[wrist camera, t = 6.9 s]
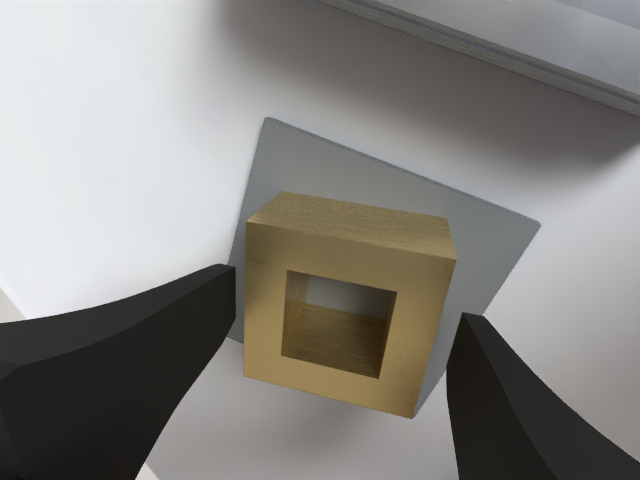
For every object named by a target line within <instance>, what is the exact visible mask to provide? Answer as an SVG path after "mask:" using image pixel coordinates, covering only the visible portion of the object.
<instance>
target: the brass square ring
mask: <svg viewBox="0 0 640 480" xmlns="http://www.w3.org/2000/svg"><path fill="white" fill-rule="evenodd" d="M456 261H457V258H456V254H455V250H454V245H453V241H452V237H451V233H450V229H449V224H448V220H447V218H443V217H437V216H431V215H425V214H419V213H413V212H407V211H401V210H395V209H389V208H383V207H377V206H371V205H365V204H359V203H353V202H347V201H340V200H334V199H328V198H322V197H316V196H310V195H304V194H298V193H292V192H286V191H281V192H280V193H279V194H278V195H276V196H275V197H274V198H273V199H272V200H270V201H269V202H268V203H267V204H266V205H265V206H263V207H262V208H261V209H260V210H259V211H258V212H256V213H255V214H254V215H253V216H252V217H250V218H249V219H248V220H247V221H246V257H245V316H244V374H243V376H245V377H249V378H253V379H257V380H261V381H265V382H269V383H273V384H277V385H281V386H285V387H289V388H292V389H296V390H300V391H304V392H308V393H312V394H316V395H320V396H324V397H328V398H332V399H336V400H340V401H343V402H347V403H351V404H355V405H359V406H363V407H367V408H371V409H375V410H379V411H383V412H387V413H391V414H394V415H398V416H402V417H406V418H410V419H412V418H413V415H414V411H415V408H416V404H417V401H418V397H419V393H420V390H421V386H422V383H423V379H424V375H425V372H426V368H427V365H428V361H429V358H430V354H431V350H432V347H433V343H434V340H435V336H436V333H437V329H438V325H439V322H440V318H441V315H442V311H443V307H444V304H445V300H446V297H447V293H448V290H449V286H450V282H451V279H452V275H453V272H454V268H455V264H456ZM309 274H311V275H316V276H321V277H326V278H331V279H336V280H341V281H346V282H351V283H356V284H361V285H366V286H371V287H376V288H381V289H386V290H391V291H392V292H391V297H390V302H389V307H388V312H387V317H386V320H383V319H378V318H374V317H369V316H364V315H360V314H355V313H350V312H346V311H341V310H336V309H332V308H327V307H322V306H318V305H313V304H308V303H306V299H307V289H308V279H309Z"/></svg>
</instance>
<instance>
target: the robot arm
mask: <svg viewBox="0 0 640 480" xmlns="http://www.w3.org/2000/svg"><path fill="white" fill-rule="evenodd" d="M235 319H236V267H234V266H229V265H224V264H215V265H212V266H209V267H207V268H204V269H201V270H199V271H196V272H194V273H191V274H189V275H187V276H184V277H182V278H179V279H177V280H174V281H172V282H169V283H167V284H164V285H161V286H159V287H156V288H153V289H150V290H148V291H145V292H142V293H139V294H137V295H134V296H131V297H128V298H124V299H121V300H118V301H114V302H111V303H107V304H104V305H100V306H96V307H92V308H88V309H83V310H78V311H73V312H69V313H64V314H59V315H54V316H49V317H43V318H36V319H30V320H23V321H16V322H8V323H0V480H135V479H136V477H137V475H138V473H139V471H140V469H141V467H142V466H143V464H144V462H145V460H146V458H147V457H148V455H149V453H150V451H151V450H152V448H153V446H154V444H155V442H156V441H157V439H158V437H159V435H160V434H161V432H162V430H163V429H164V427H165V425H166V423H167V422H168V420H169V418H170V417H171V415H172V413H173V412H174V410H175V408H176V407H177V405H178V404H179V403H180V401H181V400H182V398H183V397H184V395H185V394H186V393H187V391H188V390H189V389H190V387H191V386H192V384H193V383H194V382H195V380H196V379H197V378H198V376H199V375H200V374H201V372H202V371H203V370H204V368H205V367H206V365H207V364H208V363H209V361H210V360H211V359H212V357H213V356H214V355H215V353H216V352H217V350H218V349H219V348H220V346H221V345H222V343H223V342H224V340H225V338H226V336H227V334H228V333H229V331H230V329H231V327H232V325H233V323H234V321H235ZM446 383H447V401H448V408H449V415H450V421H451V428H452V434H453V441H454V447H455V454H456V460H457V467H458V474H459V480H640V463H639V462H638V461H637V460H635V459H634V458H632V457H631V456H630V455H628V454H627V453H626V452H624V451H623V450H622V449H621V448H619V447H618V446H617V445H615V444H614V443H613V442H611V441H610V440H609V439H607V438H606V437H605V436H603V435H602V434H601V433H600V432H598V431H597V430H596V429H595V428H593V427H592V426H591V425H590V424H589V423H587V422H586V421H585V420H584V419H583V418H582V417H580V416H579V415H578V414H577V413H576V412H575V411H574V410H572V409H571V408H570V407H569V406H568V405H567V404H566V403H564V402H563V401H562V400H561V399H560V398H559V397H558V396H557V395H556V394H555V393H554V392H553V391H552V390H551V389H550V388H549V387H548V386H547V385H546V384H545V383H544V382H543V381H542V380H541V379H540V378H539V377H538V376H537V375H536V374H535V373H534V372H533V371H532V370H531V369H530V368H529V367H528V366H527V365H526V364H525V363H524V362H523V360H522V359H521V358H520V357H519V356H518V355H517V354H516V353H515V352H514V350H513V349H512V348H511V347H510V346H509V345H508V343H507V342H506V341H505V340H504V339H503V338H502V336H501V335H500V334H499V333H498V332H497V331H496V329H495V328H494V327H493V326H492V325H491V324H490V322H489V321H488V320H487V319H486V318H485V317H484V316H480V315H475V314H470V313H465V312H462V314H461V318H460V321H459V325H458V328H457V331H456V335H455V338H454V341H453V345H452V348H451V351H450V355H449V358H448V362H447V365H446Z"/></svg>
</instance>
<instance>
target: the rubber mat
mask: <svg viewBox="0 0 640 480" xmlns="http://www.w3.org/2000/svg"><path fill="white" fill-rule="evenodd" d="M281 191H286V192H292V193H298V194H304V195H310V196H316V197H322V198H328V199H334V200H340V201H347V202H353V203H359V204H365V205H371V206H377V207H383V208H389V209H395V210H401V211H407V212H413V213H419V214H425V215H431V216H437V217H443V218H447V220H448V224H449V229H450V233H451V237H452V241H453V245H454V250H455V254H456V258H457V261H456V264H455V268H454V272H453V275H452V279H451V282H450V286H449V290H448V293H447V297H446V300H445V304H444V307H443V311H442V315H441V318H440V322H439V325H438V329H437V333H436V336H435V340H434V343H433V347H432V350H431V354H430V358H429V361H428V365H427V368H426V372H425V375H424V379H423V383H422V386H421V390H420V393H419V397H418V401H417V404H416V408H415V411H414V415H413V418H414V417H415V416H416V414H417V413H418V411H419V410H420V408H421V407H422V405H423V404H424V402H425V401H426V399H427V398H428V396H429V395H430V393H431V392H432V390H433V389H434V387H435V385H436V384H437V382H438V381H439V379H440V378H441V376H442V375H443V373H444V372H445V370H446V365H447V362H448V358H449V355H450V351H451V348H452V345H453V341H454V338H455V335H456V331H457V328H458V325H459V321H460V318H461V314H462V312H465V313H470V314H475V315H480V316H482V315H483V313H484V312H485V310H486V309H487V307H488V305H489V304H490V302H491V301H492V299H493V298H494V296H495V295H496V293H497V292H498V290H499V289H500V287H501V286H502V284H503V283H504V281H505V280H506V278H507V277H508V275H509V274H510V272H511V271H512V269H513V268H514V266H515V265H516V263H517V262H518V260H519V259H520V257H521V256H522V254H523V253H524V251H525V250H526V248H527V247H528V245H529V244H530V242H531V241H532V239H533V238H534V236H535V235H536V233H537V232H538V230H539V228H540V227H541V225H540V223H539V222H538V221H536V220H533V219H531V218H528V217H526V216H523V215H521V214H518V213H515V212H513V211H510V210H508V209H505V208H502V207H500V206H497V205H495V204H492V203H490V202H487V201H484V200H482V199H479V198H477V197H474V196H471V195H469V194H466V193H464V192H461V191H459V190H456V189H453V188H451V187H448V186H446V185H443V184H441V183H438V182H435V181H433V180H430V179H428V178H425V177H422V176H420V175H417V174H415V173H412V172H410V171H407V170H404V169H402V168H399V167H397V166H394V165H391V164H389V163H386V162H384V161H381V160H379V159H376V158H373V157H371V156H368V155H366V154H363V153H361V152H358V151H355V150H353V149H350V148H348V147H345V146H342V145H340V144H337V143H335V142H332V141H330V140H327V139H324V138H322V137H319V136H317V135H314V134H311V133H309V132H306V131H304V130H301V129H299V128H296V127H293V126H291V125H288V124H286V123H283V122H281V121H278V120H275V119H273V118H270V117H267V118H265V119H264V123H263V127H262V131H261V135H260V139H259V143H258V147H257V151H256V155H255V159H254V163H253V167H252V171H251V175H250V179H249V183H248V187H247V191H246V195H245V199H244V203H243V207H242V211H241V215H240V219H239V223H238V227H237V231H236V235H235V239H234V243H233V247H232V251H231V255H230V259H229V263H228V265H229V266H234V267H236V319H235V321H234V323H233V325H232V327H231V329H230V331H229V333H228V334H227V337H229V338H231V339H234V340H236V341H238V342H240V343H243V344H244V316H245V257H246V221H247V220H248V219H249V218H250V217H252V216H253V215H254V214H255V213H256V212H258V211H259V210H260V209H261V208H262V207H263V206H265V205H266V204H267V203H268V202H269V201H270V200H272V199H273V198H274V197H275V196H276V195H278V194H279V193H280V192H281ZM391 292H392V291H391V290H386V289H381V288H376V287H371V286H366V285H361V284H356V283H351V282H346V281H341V280H336V279H331V278H326V277H321V276H316V275H311V274H309V279H308V289H307V299H306V303H308V304H313V305H318V306H322V307H327V308H332V309H336V310H341V311H346V312H350V313H355V314H360V315H364V316H369V317H374V318H378V319H383V320H386V317H387V312H388V307H389V302H390V297H391Z"/></svg>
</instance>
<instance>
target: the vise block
mask: <svg viewBox="0 0 640 480" xmlns="http://www.w3.org/2000/svg"><path fill="white" fill-rule="evenodd" d="M316 1H319V2H322V3H324V4H327V5H330V6H333V7H336V8H338V9H341V10H344V11H347V12H349V13H352V14H355V15H358V16H360V17H363V18H366V19H369V20H372V21H374V22H377V23H380V24H383V25H385V26H388V27H391V28H394V29H397V30H399V31H402V32H405V33H408V34H410V35H413V36H416V37H419V38H421V39H424V40H427V41H430V42H433V43H435V44H438V45H441V46H444V47H446V48H449V49H452V50H455V51H457V52H460V53H463V54H466V55H469V56H471V57H474V58H477V59H480V60H482V61H485V62H488V63H491V64H494V65H496V66H499V67H502V68H505V69H507V70H510V71H513V72H516V73H518V74H521V75H524V76H527V77H530V78H532V79H535V80H538V81H541V82H543V83H546V84H549V85H552V86H555V87H557V88H560V89H563V90H566V91H568V92H571V93H574V94H577V95H579V96H582V97H585V98H588V99H591V100H593V101H596V102H599V103H602V104H604V105H607V106H610V107H613V108H615V109H618V110H621V111H624V112H627V113H629V114H632V115H635V116H638V117H640V0H316Z"/></svg>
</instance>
